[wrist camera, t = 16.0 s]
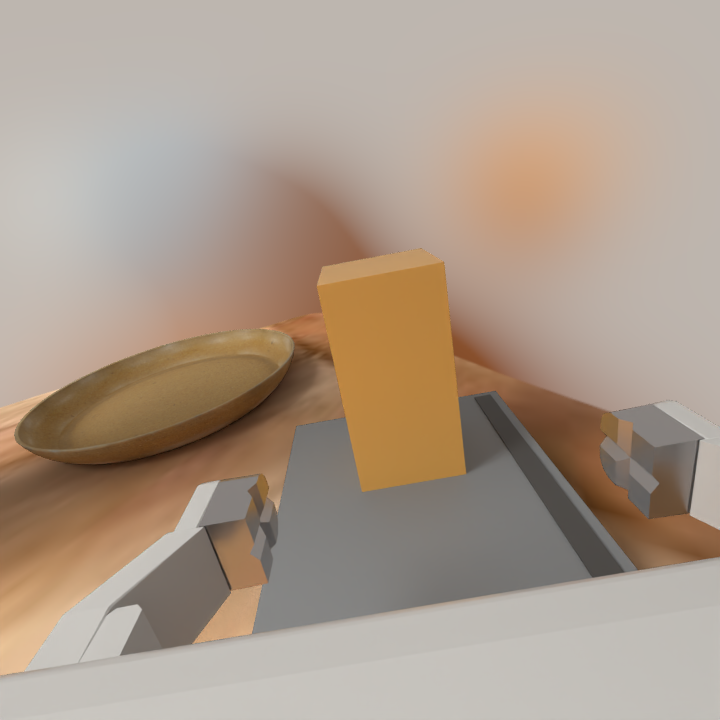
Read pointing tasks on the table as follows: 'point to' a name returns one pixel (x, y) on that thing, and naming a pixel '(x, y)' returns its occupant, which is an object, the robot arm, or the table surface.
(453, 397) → the tall orange brick
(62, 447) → the plant saucer
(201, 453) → the table surface
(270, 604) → the plate
